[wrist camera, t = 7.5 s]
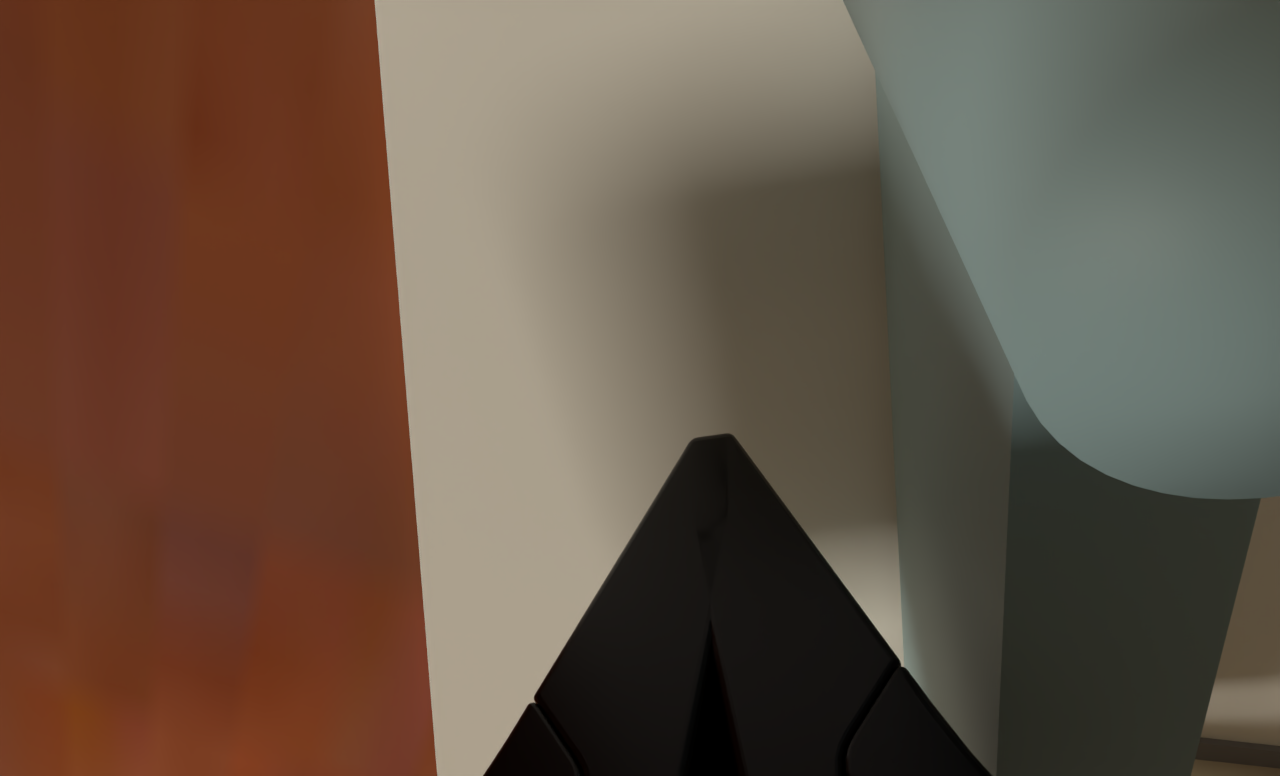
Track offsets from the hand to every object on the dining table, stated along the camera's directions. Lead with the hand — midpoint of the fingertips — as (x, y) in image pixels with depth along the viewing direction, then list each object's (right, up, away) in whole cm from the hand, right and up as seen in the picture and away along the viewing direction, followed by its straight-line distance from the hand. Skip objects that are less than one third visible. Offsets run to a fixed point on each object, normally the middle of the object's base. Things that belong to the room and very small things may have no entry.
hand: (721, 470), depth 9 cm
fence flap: (+3, +1, +1) cm, 3 cm away
